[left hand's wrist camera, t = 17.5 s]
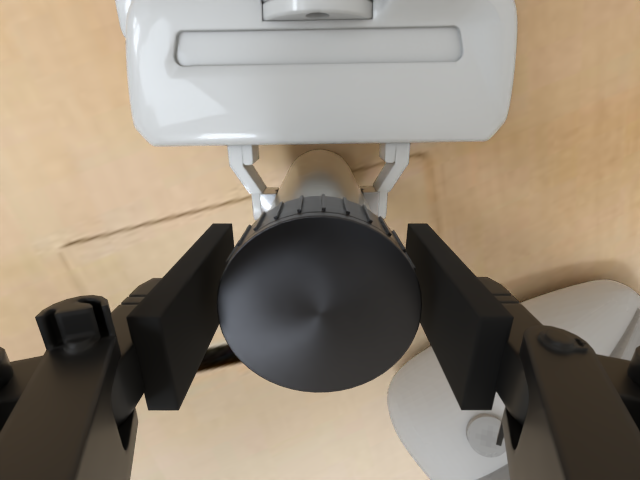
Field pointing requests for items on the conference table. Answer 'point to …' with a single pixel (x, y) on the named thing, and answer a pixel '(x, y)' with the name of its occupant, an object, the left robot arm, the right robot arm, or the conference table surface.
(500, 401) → the projector
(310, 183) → the silver metal cylinder
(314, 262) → the lid
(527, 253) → the conference table surface
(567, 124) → the conference table surface
